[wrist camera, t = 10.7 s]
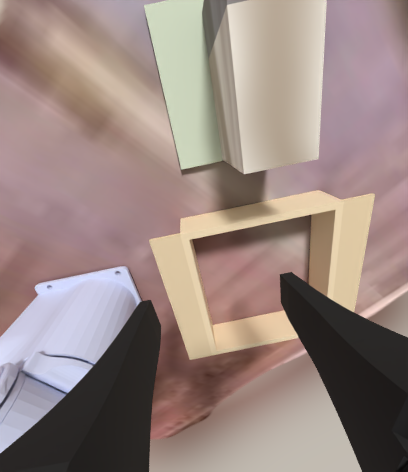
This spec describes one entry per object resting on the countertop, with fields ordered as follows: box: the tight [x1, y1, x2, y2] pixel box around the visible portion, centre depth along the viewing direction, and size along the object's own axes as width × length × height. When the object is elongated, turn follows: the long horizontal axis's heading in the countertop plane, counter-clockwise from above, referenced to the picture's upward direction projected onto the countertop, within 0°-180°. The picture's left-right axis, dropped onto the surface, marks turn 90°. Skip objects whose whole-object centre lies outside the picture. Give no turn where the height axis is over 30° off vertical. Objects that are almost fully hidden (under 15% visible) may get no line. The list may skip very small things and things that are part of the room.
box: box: [202, 0, 327, 174], centre depth 12 cm, size 4×9×7 cm, turn 11°
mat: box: [144, 0, 224, 170], centre depth 16 cm, size 11×10×1 cm
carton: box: [149, 190, 375, 360], centre depth 22 cm, size 18×15×4 cm
